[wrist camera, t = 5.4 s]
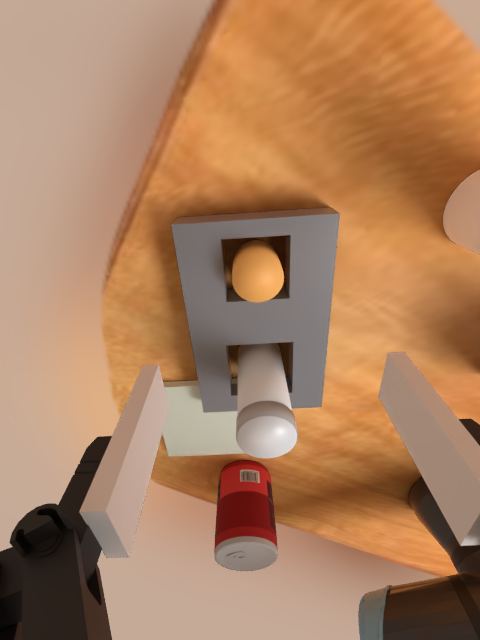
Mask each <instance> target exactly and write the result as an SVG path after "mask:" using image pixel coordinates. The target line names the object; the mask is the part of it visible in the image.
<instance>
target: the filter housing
mask: <svg viewBox="0 0 480 640" xmlns="http://www.w3.org/2000/svg"><path fill="white" fill-rule="evenodd" d="M339 216H340V213H338V212H337V211H335V210H334V209H332V208H331V207H324V208H309V209H294V210H279V211H264V212H250V213H235V214H220V215H205V216H190V217H177V218H176V220H175V221H174V222H173V223H172V224H171V227H172V233H173V239H174V245H175V250H176V256H177V262H178V268H179V273H180V279H181V285H182V291H183V297H184V302H185V308H186V314H187V320H188V326H189V331H190V337H191V343H192V349H193V355H194V360H195V366H196V372H197V378H198V383H199V389H200V395H201V401H202V407H203V412H204V413H208V412H229V411H237V398H238V384H237V383H236V384H232V381H233V380H232V377H231V367H230V357H229V347H228V345H246V344H265V343H283V342H289V375H288V376H285V377H286V382H287V387H288V392H289V397H290V402H291V407H292V408H312V407H322V396H323V386H324V375H325V364H326V354H327V343H328V333H329V322H330V312H331V301H332V290H333V280H334V269H335V259H336V248H337V238H338V227H339ZM283 235H286V273H285V286H282V288H281V290H280V291H279V293H278V294H277V295H276V296H275V297H273V298H272V299H270V300H268V301H265V302H259V303H256V302H250V301H247V300H245V299H243V298H242V297H240V296H239V295H238V294H237V293H236V291H235V289H227V278H226V268H225V257H224V246H223V239H237V238H252V237H268V236H283ZM237 379H238V378H237ZM237 381H238V380H237Z"/></svg>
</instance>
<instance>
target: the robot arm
mask: <svg viewBox="0 0 480 640" xmlns="http://www.w3.org/2000/svg"><path fill="white" fill-rule="evenodd" d="M378 397H379V399H380V401H381V403H382V405H383V406H384V408H385V410H386V412H387V414H388V415H389V417H390V419H391V421H392V423H393V424H394V426H395V428H396V430H397V432H398V434H399V435H400V437H401V439H402V441H403V443H404V444H405V446H406V448H407V450H408V452H409V453H410V455H411V457H412V459H413V461H414V463H415V464H416V466H417V468H418V470H419V472H420V473H421V475H422V478H421V479H419V480H418V481H417V482H416V483H415V484H414V486H413V487H412V489H411V491H410V493H409V501H410V504H411V506H412V508H413V510H414V512H415V514H416V516H417V517H418V519H419V520H420V521H421V522H422V524H423V525H424V526H425V527H426V528H427V530H428V531H429V532H430V533H431V534H432V535H433V537H434V538H435V539H436V540H437V541H438V542H439V544H440V545H441V546H442V547H443V548H444V549H445V551H446V552H447V553H448V555H449V556H450V558H451V560H452V562H453V564H454V566H455V568H456V570H457V572H458V574H456V575H451V576H445V577H440V578H434V579H429V580H424V581H419V582H414V583H409V584H403V585H397V586H392V585H388V586H386V587H385V588H383V589H380V590H376V591H372V592H369V593H366V594H365V595H364V596H363V597H362V599H361V601H360V604H359V613H358V617H359V633H360V640H480V425H479V424H478V423H476V422H475V421H473V420H472V419H458V418H457V417H456V416H455V414H454V413H453V412H452V411H451V409H450V408H449V407H448V406H447V404H446V403H445V402H444V401H443V399H442V398H441V397H440V396H439V394H438V393H437V392H436V391H435V389H434V388H433V387H432V386H431V384H430V383H429V382H428V380H427V379H426V378H425V377H424V375H423V374H422V373H421V372H420V370H419V369H418V368H417V367H416V365H415V364H414V363H413V362H412V360H411V359H410V358H409V357H408V355H407V354H406V353H405V352H393V353H388V354H387V359H386V364H385V368H384V373H383V377H382V382H381V387H380V391H379V396H378ZM168 410H169V404H168V400H167V396H166V392H165V388H164V384H163V380H162V376H161V372H160V368H159V365H148V366H142V369H141V371H140V373H139V376H138V378H137V380H136V382H135V385H134V387H133V389H132V392H131V394H130V396H129V399H128V401H127V403H126V405H125V408H124V410H123V412H122V415H121V417H120V419H119V422H118V424H117V426H116V429H115V431H114V433H113V435H112V436H105V437H97V438H96V439H95V440H94V441H93V442H92V443H91V444H90V446H88V448H87V449H86V451H85V453H84V455H83V457H82V459H81V461H80V464H79V465H78V467H77V469H76V471H75V475H73V477H72V479H71V481H70V483H69V485H68V487H67V489H66V491H65V493H64V495H63V497H62V499H61V501H60V503H59V505H57V504H45V505H42V506H39V507H36V508H35V509H34V510H32V511H30V512H29V513H27V514H26V515H25V516H24V517H23V518H22V520H20V521H19V522H18V524H17V526H16V527H15V529H14V530H13V532H12V535H11V539H10V544H11V545H12V546H13V547H11V548H9V549H6V550H3V551H1V552H0V640H112V636H111V631H110V626H109V620H108V614H107V609H106V603H105V598H104V593H103V587H102V581H101V576H100V570H99V568H98V565H97V562H98V559H99V556H100V553H101V550H102V551H103V553H104V555H105V556H106V558H118V557H119V558H121V557H129V556H130V553H131V549H132V545H133V541H134V538H135V534H136V530H137V526H138V523H139V519H140V515H141V511H142V508H143V504H144V500H145V496H146V493H147V488H148V485H149V481H150V477H151V474H152V470H153V466H154V462H155V459H156V455H157V451H158V447H159V444H160V440H161V436H162V432H163V429H164V425H165V421H166V417H167V413H168Z"/></svg>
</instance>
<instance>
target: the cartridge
mask: <svg viewBox="0 0 480 640" xmlns="http://www.w3.org/2000/svg"><path fill="white" fill-rule="evenodd" d="M297 439H298V431H297V427H296V422H295V417H294V414H293V412H292V407H291V402H290V397H289V392H288V387H287V382H286V377H285V372H284V367H283V362H282V357H281V352H280V348H279V346H278V344H277V343H265V344H246V345H240V347H239V350H238V398H237V419H236V441H237V443H238V445H239V447H240V448H241V449H242V450H243V451H244V452H245V453H247V454H248V455H251V456H253V457H257V458H275V457H279V456H281V455H284V454H286V453H287V452H289V451H290V450H291V449H292V448H293V447H294V446H295V444H296V442H297Z"/></svg>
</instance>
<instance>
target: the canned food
mask: <svg viewBox="0 0 480 640" xmlns="http://www.w3.org/2000/svg"><path fill="white" fill-rule="evenodd" d="M277 550H278V549H277V537H276V526H275V516H274V506H273V496H272V486H271V478H270V474H269V472H268V470H267V468H265V467H264V466H263V465H262V464H259V463H257V462H253V461H237V462H234V463H231V464H229V465H227V466H226V467H225V468H224V469H223V470H222V472H221V474H220V477H219V485H218V500H217V516H216V532H215V550H214V552H215V560H216V562H217V563H218V564H220V565H221V566H223V567H225V568H228V569H231V570H236V571H254V570H258V569H262V568H265V567H268V566H269V565H271V564H273V563H274V562H275V561H276V559H277V556H278V555H277Z"/></svg>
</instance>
